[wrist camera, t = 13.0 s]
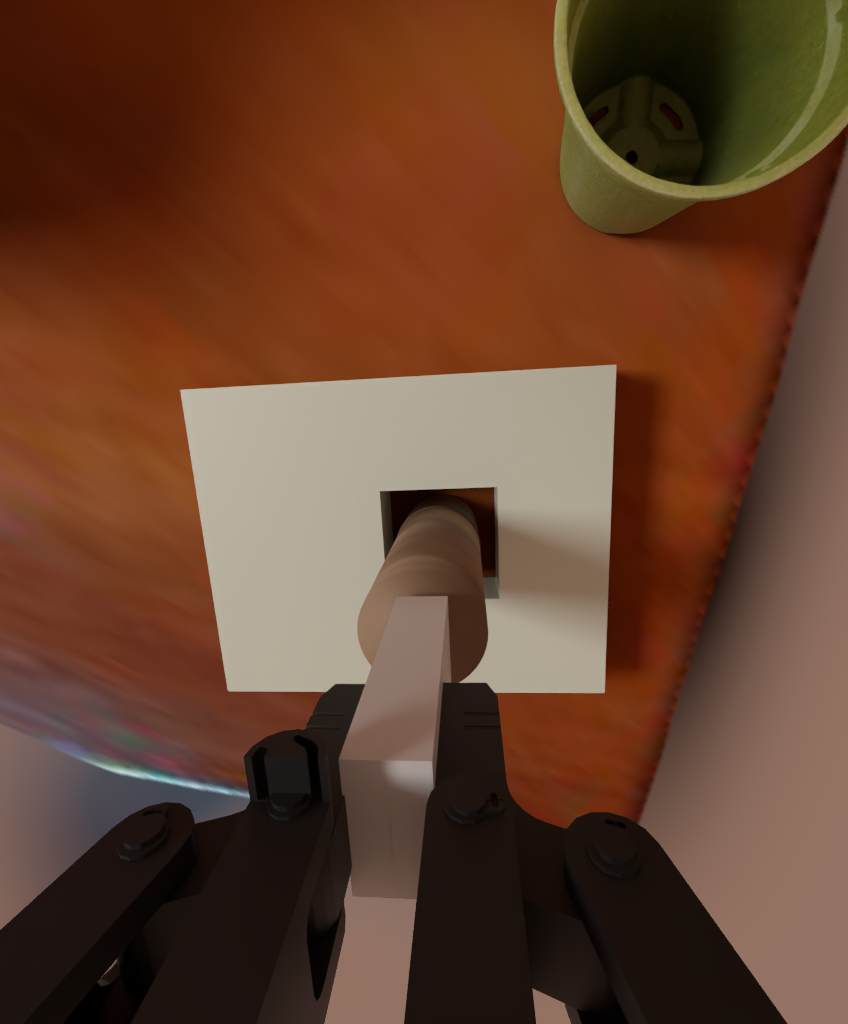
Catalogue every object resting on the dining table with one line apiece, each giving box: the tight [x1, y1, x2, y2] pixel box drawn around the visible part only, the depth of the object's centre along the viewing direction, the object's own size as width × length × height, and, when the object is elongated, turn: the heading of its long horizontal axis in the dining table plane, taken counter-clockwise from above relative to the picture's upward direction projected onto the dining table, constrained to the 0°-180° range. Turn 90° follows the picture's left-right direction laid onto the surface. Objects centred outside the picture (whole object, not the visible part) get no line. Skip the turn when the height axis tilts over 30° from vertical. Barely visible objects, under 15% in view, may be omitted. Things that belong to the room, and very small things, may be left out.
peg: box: [357, 494, 488, 683], centre depth 20 cm, size 4×4×12 cm
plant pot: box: [553, 0, 848, 234], centre depth 17 cm, size 9×9×9 cm
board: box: [180, 365, 616, 693], centre depth 25 cm, size 20×16×3 cm
